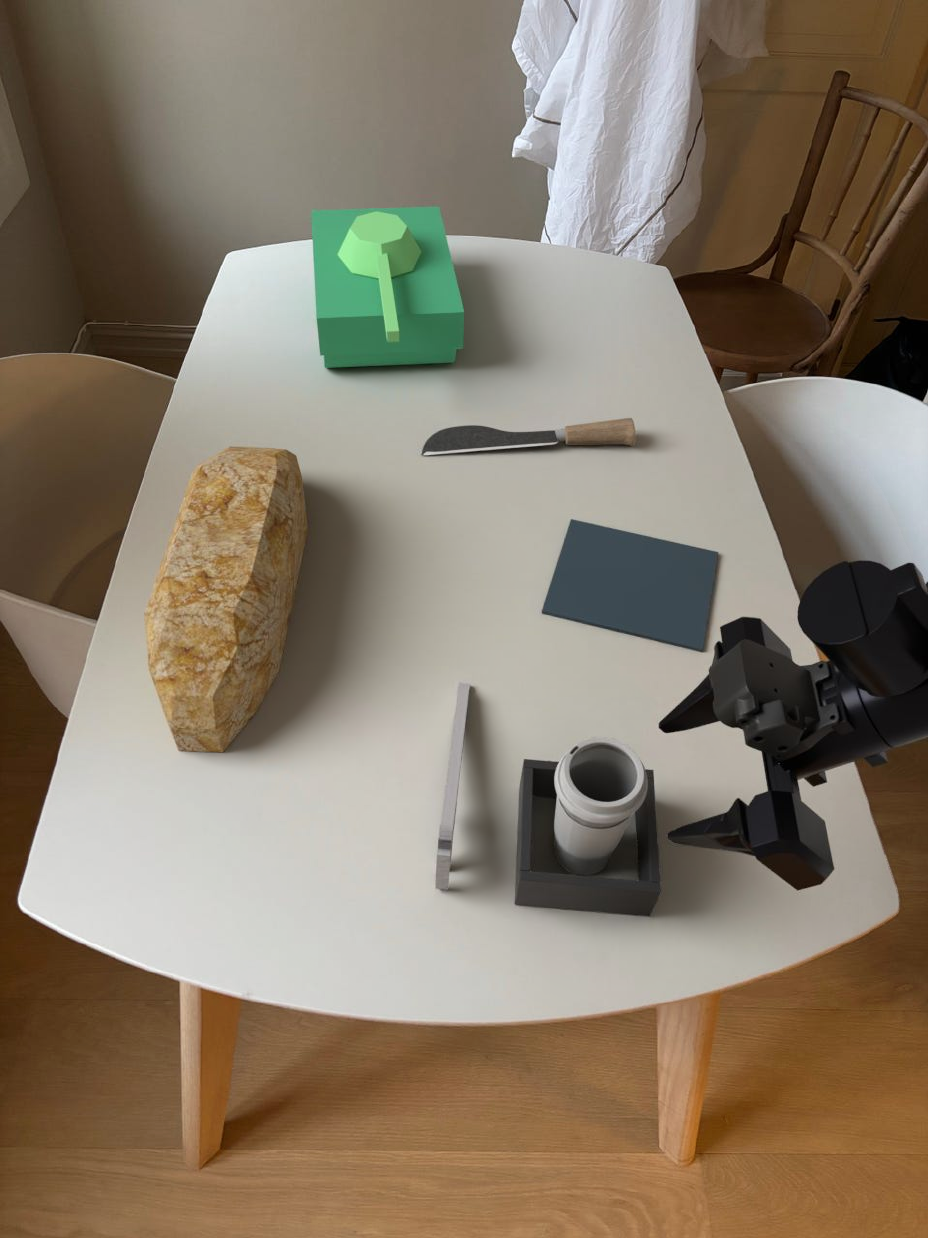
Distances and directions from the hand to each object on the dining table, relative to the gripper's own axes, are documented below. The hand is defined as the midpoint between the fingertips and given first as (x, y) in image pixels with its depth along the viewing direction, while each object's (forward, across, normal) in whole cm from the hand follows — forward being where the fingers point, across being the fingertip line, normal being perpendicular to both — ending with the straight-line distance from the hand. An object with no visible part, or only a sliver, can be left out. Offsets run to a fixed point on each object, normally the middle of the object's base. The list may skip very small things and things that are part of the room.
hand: (665, 781), depth 68 cm
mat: (+7, -31, +9) cm, 33 cm away
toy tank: (+29, -73, -13) cm, 80 cm away
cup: (+11, 0, +5) cm, 12 cm away
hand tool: (+16, -52, +1) cm, 55 cm away
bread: (+35, -24, -19) cm, 47 cm away
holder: (+11, 0, +5) cm, 12 cm away
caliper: (+19, -6, -3) cm, 20 cm away
